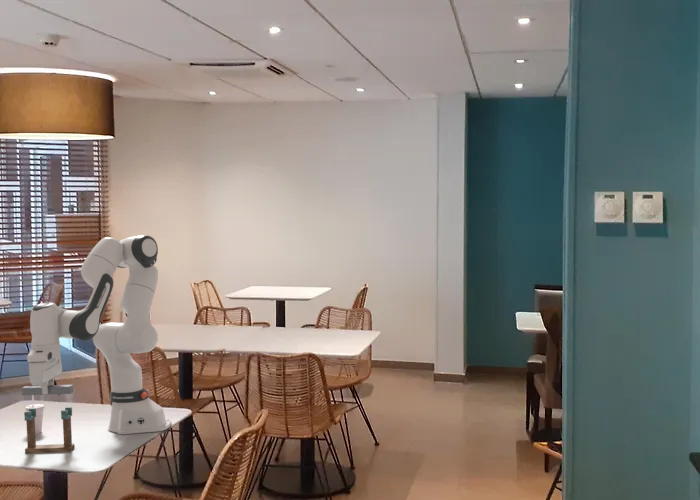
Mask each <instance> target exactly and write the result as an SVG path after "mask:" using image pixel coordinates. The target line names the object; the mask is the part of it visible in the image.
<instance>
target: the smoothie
mask: <svg viewBox="0 0 700 500" xmlns="http://www.w3.org/2000/svg"><path fill="white" fill-rule="evenodd" d="M34 396H35V395H31V402H32V403H31V404H29V405H26V406H25V412H29V409H30V408H36V417H35V435H37V434H40V433H42V431H43V430H42V428H43V418H44V409H45V405H44V404H43V403H36V404H35V397H34Z"/></svg>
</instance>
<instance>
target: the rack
mask: <svg viewBox="0 0 700 500" xmlns="http://www.w3.org/2000/svg"><path fill="white" fill-rule="evenodd" d="M23 413H24V421H26V438H27V439H26V441H27V443H26V444H27V447H26V448H25V449H24V453H25V454H43V453H48V454H49V453H51V454H52V453H71V452H72V451H73V450H75V443H73V439H72V416H73V407H72V406H67V407H66V406H65V408H64V410H60V418H61V420H62V428H63V430H62V431H63V432H62V433H63V435H62V436H63V443H61V444H60V443H57V444H55V443H54V444H37V443H36V442H37V441H36V439H37V438H36V434H35V417H36V408H30V409H29V412H27V411H24V412H23Z"/></svg>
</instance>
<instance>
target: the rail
mask: <svg viewBox="0 0 700 500" xmlns="http://www.w3.org/2000/svg"><path fill="white" fill-rule="evenodd" d="M48 388H49V393H48V394H42V388H41V386H40V385H30V386H29V385H26V386H23V387H21V395H22V396H32V395H34V396H43V395H45V396H48V395H71V394H73V393H74V385H73V384H56V385H54V384H53V385H49V386H48Z"/></svg>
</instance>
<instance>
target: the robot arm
mask: <svg viewBox="0 0 700 500" xmlns="http://www.w3.org/2000/svg"><path fill="white" fill-rule="evenodd" d="M158 253H159V248H158V243H157V241H156V240H155V238H154V237H152V236H150V235H146V234H139V235H134V236H133V235H132V236H129V237H126V238H123V239H121V240H118V239H116V238H114V237H112V236H111V237H109V236H107V237H103V238H101V239H100V240H99V241H98V242H97V243H96V244H95V246H93V248H91V250H90V252H89V253H88V254H87V257H86V258H85V259H84V261H83V262H82V266H81V268H80V274H81V278H82V279H83V280H84V282H85V284H86V285H89V287H91V288H92V289H93V290H92V293H91V294H90V297H89V299H88V301H87V304H86V306H85V307H83V309H81V310H74V309H73V310H72V309H65V308H63V307H60V306H58V305H56V303H54V302H52V301H51V302H49V301H48V302H46V301H45V302H42V303H38V304H36V305H34V306H33V307H32V308H31V311H30V319H29V325H30V326H29V328H30V333H31V342H30V345H31V346H30V347H31V348H30V350H29V352H28V354H27V357H26V360H27V361H26V362H28V363H29V364H28V374H29V382H30V384H31V386H41V388H42V394H48V393H49V388H48V386H49V385H54V384H55V377H56V376H58V375H59V374H61V373H62V370H63V365H62V355H61V346H60V338H64V339H72V340H78V341H82V342H88V341H90V340H91V339H92V341H93V345H94V346H95V348H96V349H98V350H99V351H100V352H101V354H102V355H103V357H104V358H105V360H106V362H107V366H108V368H109V373H110V375H109V376H110V385H111V386H110V389H111V390H110V391H109V393H110V394H109V403H110V406H111V408H110V409H111V410H110V420H109V425H108V427H107V430H108V431H110V432H113V433H116V434H118V435H132V434H142V433H144V434H145V433H154V432H155V433H157V432H162V431H165V430H167V429H169V428H170V427H171V425H172V421H171V419H170V418H166V417H165V410H164V407H162V406H161V405H159V404H158V403H156V402H155V401H153V400H152V399H150V398H149V389H148V388H147V389H145V388H143V371H142V367H141V365H140V364H139V363H137V362H136V361H135V359H133V357H132V355H131V354H143V353H150V352H151V351H153V350H154V349H155V347H156V345H157V344H158V339H159V337H158V332H157V330H156V328H155V327H154V326H153V324H152V323H151V315H150V314H151V313H150V312H151V307H152V303H153V299H154V298H155V297H154V296H155V294H156V290H157V286H158V285H157V284H158V279H159V271H158V268H157V266H155V264H156V263H157V259H158V258H157V257H158ZM118 268H120V269H125V268H128V271H129V274H128V279H127V280H126V284H125V287H124V290H123V293H122V296H121V300H120V303H119V305H120V308H121V310H122V311H123V312H124V314H126V321H125V322H114V321H113V322H112V321H111V322H106V323H105V322H104V323H102V324H101V319H102V316H103V314H104V310H105V308H106V307H107V304H108V302H109V299H110V296H111V294H112V291H113V288H114V279H113V277H114V274H115V272H116V271H117V269H118Z"/></svg>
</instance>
